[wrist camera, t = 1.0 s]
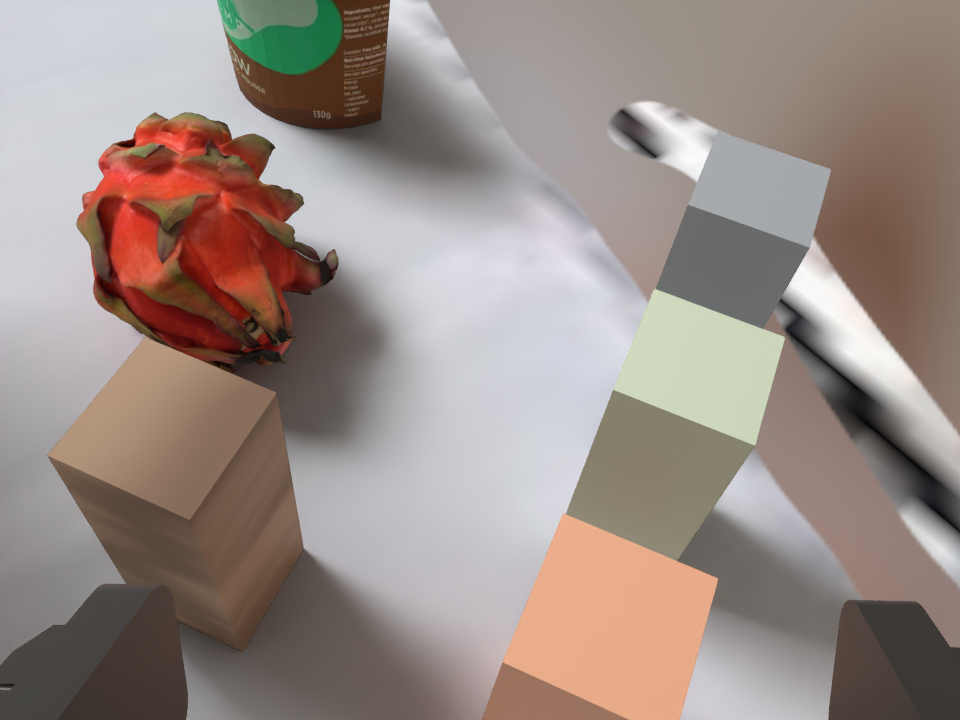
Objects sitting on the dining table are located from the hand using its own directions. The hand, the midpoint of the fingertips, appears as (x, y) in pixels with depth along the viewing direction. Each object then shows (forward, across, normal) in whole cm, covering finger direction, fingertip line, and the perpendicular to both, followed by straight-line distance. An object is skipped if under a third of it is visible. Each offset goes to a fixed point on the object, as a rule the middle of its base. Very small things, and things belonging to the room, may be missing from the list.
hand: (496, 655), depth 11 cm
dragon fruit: (+26, +13, +3) cm, 29 cm away
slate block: (+27, -6, +5) cm, 29 cm away
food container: (+38, +13, -6) cm, 40 cm away
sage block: (+21, -4, +10) cm, 23 cm away
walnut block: (+17, +10, +10) cm, 22 cm away
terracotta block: (+15, -1, +14) cm, 20 cm away
